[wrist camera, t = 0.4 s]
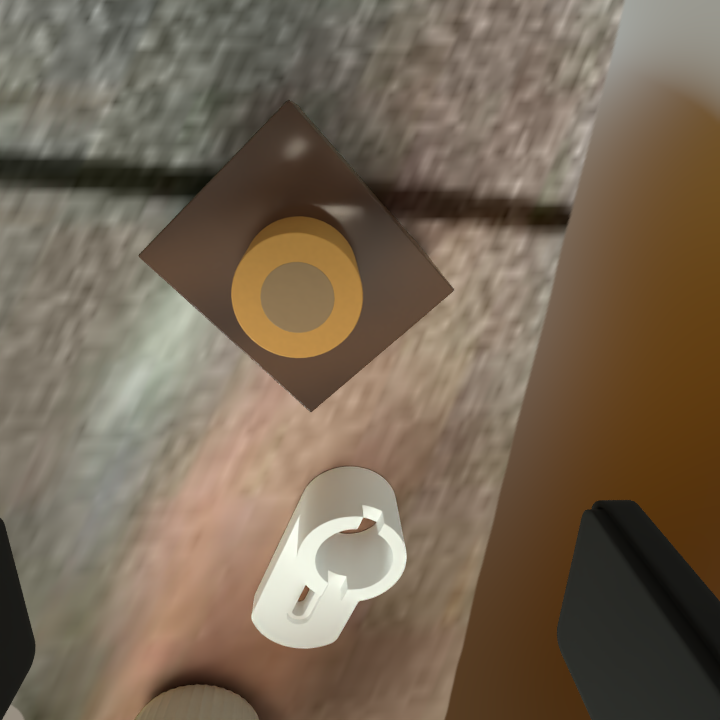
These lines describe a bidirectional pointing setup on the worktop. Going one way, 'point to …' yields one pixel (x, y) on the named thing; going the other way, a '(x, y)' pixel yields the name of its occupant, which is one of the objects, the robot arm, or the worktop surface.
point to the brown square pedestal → (290, 199)
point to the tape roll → (298, 288)
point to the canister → (198, 705)
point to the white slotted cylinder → (330, 558)
